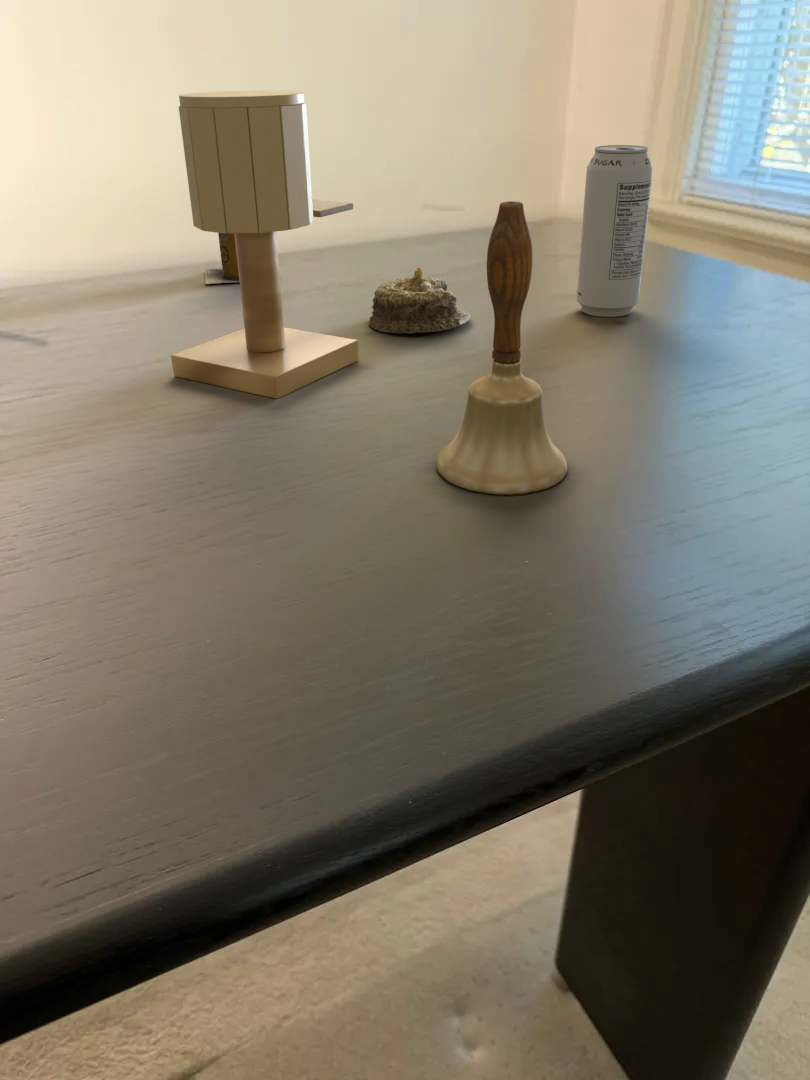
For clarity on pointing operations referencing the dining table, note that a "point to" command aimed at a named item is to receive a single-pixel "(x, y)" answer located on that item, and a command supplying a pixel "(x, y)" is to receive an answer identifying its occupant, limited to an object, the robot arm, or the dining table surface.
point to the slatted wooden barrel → (249, 162)
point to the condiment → (225, 262)
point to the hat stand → (263, 336)
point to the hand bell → (505, 386)
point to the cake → (415, 306)
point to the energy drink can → (614, 229)
